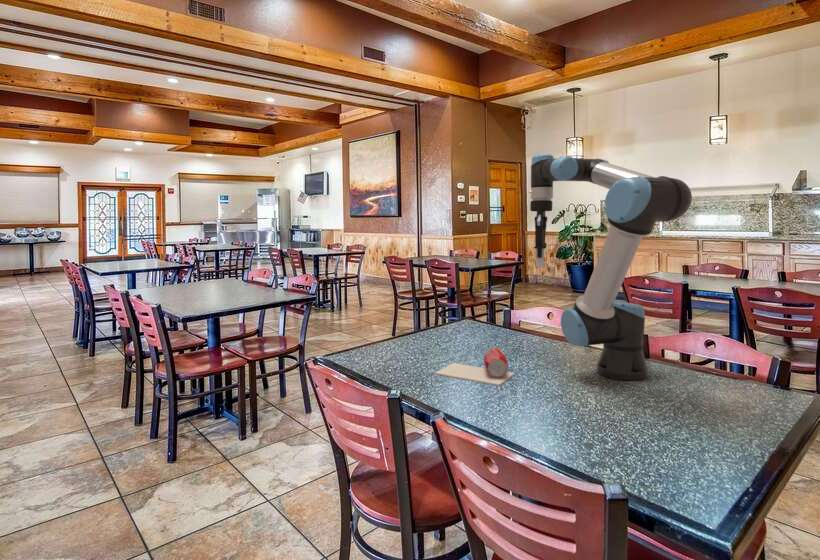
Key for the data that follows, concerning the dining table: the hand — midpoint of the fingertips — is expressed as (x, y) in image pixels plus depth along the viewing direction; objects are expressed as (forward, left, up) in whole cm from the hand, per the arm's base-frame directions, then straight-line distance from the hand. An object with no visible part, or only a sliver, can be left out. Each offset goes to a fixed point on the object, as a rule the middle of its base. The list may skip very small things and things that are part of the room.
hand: (539, 266), depth 180 cm
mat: (+10, +33, -32) cm, 47 cm away
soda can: (+7, +24, -28) cm, 38 cm away
